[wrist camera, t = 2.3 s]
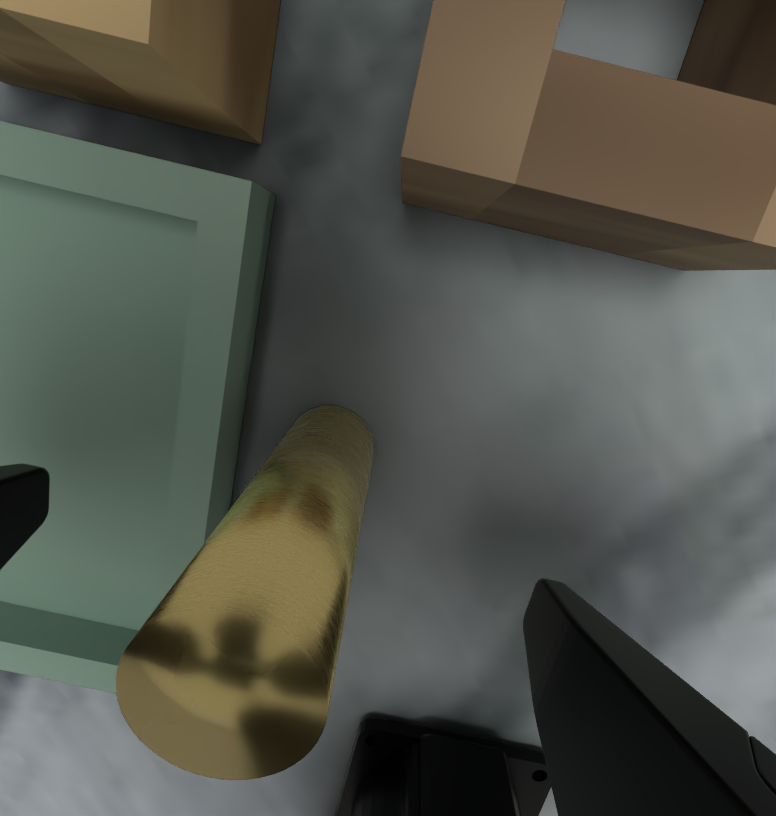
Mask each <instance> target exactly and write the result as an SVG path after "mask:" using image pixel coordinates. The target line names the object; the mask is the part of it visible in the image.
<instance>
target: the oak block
mask: <svg viewBox="0 0 776 816" xmlns="http://www.w3.org/2000/svg"><path fill="white" fill-rule="evenodd" d="M280 3H281V0H0V81H2V82H4V83H7V84H11V85H16V86H20V87H24V88H28V89H32V90H36V91H40V92H44V93H49V94H53V95H57V96H61V97H65V98H69V99H73V100H78V101H82V102H86V103H90V104H94V105H98V106H102V107H107V108H111V109H115V110H119V111H123V112H127V113H131V114H135V115H140V116H144V117H148V118H152V119H156V120H160V121H164V122H169V123H173V124H177V125H181V126H185V127H189V128H193V129H198V130H202V131H206V132H210V133H214V134H218V135H222V136H226V137H231V138H235V139H239V140H243V141H247V142H251V143H255V144H260V145H261V144H262V136H263V129H264V121H265V114H266V107H267V99H268V92H269V84H270V77H271V69H272V62H273V55H274V47H275V40H276V32H277V25H278V17H279V10H280Z"/></svg>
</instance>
